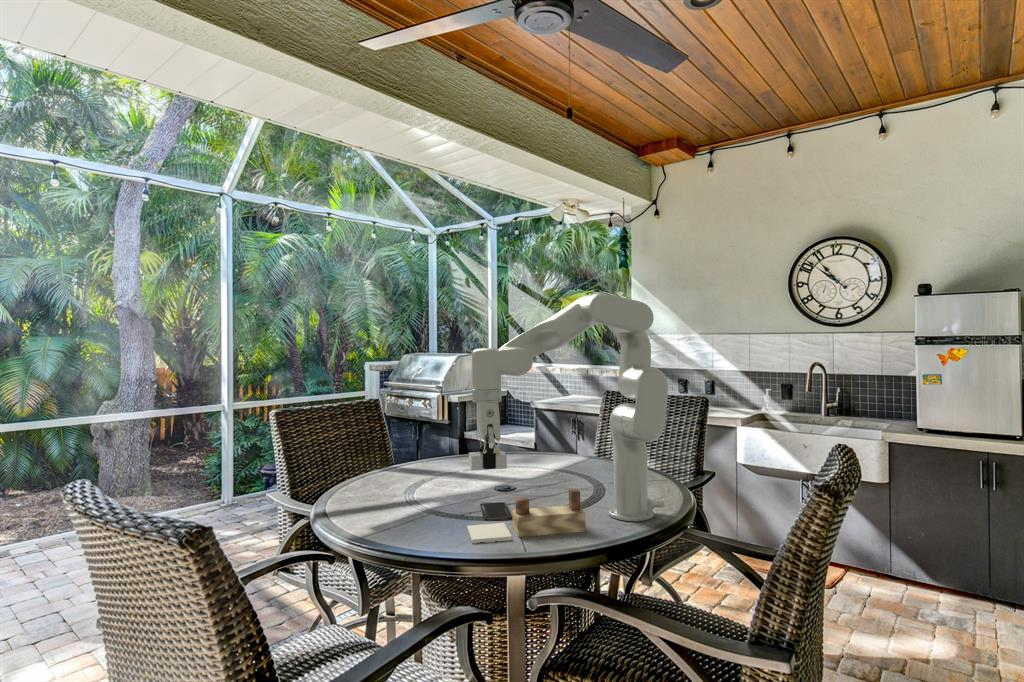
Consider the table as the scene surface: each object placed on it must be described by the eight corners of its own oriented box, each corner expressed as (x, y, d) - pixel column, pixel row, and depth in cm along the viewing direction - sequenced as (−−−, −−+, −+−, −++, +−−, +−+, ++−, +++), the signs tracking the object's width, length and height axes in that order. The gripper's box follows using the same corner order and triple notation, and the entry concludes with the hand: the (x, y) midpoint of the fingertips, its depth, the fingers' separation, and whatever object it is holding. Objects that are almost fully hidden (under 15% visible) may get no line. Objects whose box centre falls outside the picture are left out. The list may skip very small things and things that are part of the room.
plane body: (577, 523, 157) (576, 486, 157) (585, 531, 151) (585, 493, 151) (512, 528, 154) (512, 490, 154) (518, 537, 147) (517, 497, 147)
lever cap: (502, 463, 153) (502, 446, 153) (506, 468, 147) (506, 450, 147) (469, 465, 151) (468, 448, 151) (471, 470, 146) (471, 452, 146)
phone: (484, 518, 161) (479, 503, 176) (484, 522, 161) (479, 507, 176) (512, 516, 162) (505, 501, 177) (512, 520, 162) (505, 505, 177)
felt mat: (503, 526, 156) (503, 522, 156) (511, 540, 145) (511, 536, 145) (467, 529, 154) (466, 525, 154) (472, 543, 143) (472, 539, 143)
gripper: (507, 398, 142) (508, 472, 142) (495, 392, 158) (496, 458, 158) (476, 399, 140) (477, 474, 140) (468, 393, 157) (469, 460, 157)
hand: (487, 465), depth 149 cm, fingers closed on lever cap, 5 cm apart
